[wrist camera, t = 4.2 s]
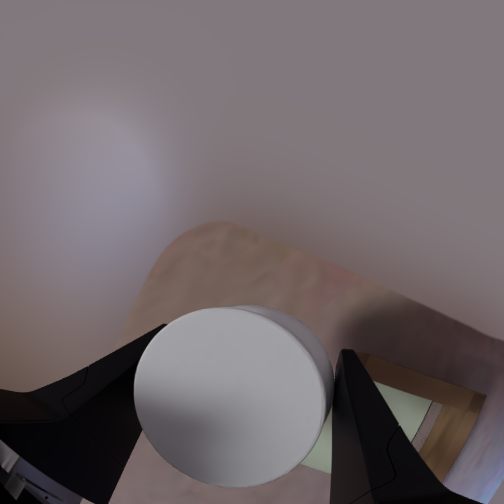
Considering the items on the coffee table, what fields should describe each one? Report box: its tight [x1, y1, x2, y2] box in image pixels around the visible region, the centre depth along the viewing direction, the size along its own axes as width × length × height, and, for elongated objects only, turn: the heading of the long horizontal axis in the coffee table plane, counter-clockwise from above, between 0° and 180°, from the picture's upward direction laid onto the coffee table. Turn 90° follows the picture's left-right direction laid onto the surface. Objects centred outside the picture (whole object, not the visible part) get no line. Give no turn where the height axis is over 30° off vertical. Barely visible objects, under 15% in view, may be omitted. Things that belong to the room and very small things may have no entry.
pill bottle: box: [134, 305, 334, 488], centre depth 10 cm, size 6×6×10 cm
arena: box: [300, 353, 486, 482], centre depth 15 cm, size 12×12×4 cm
